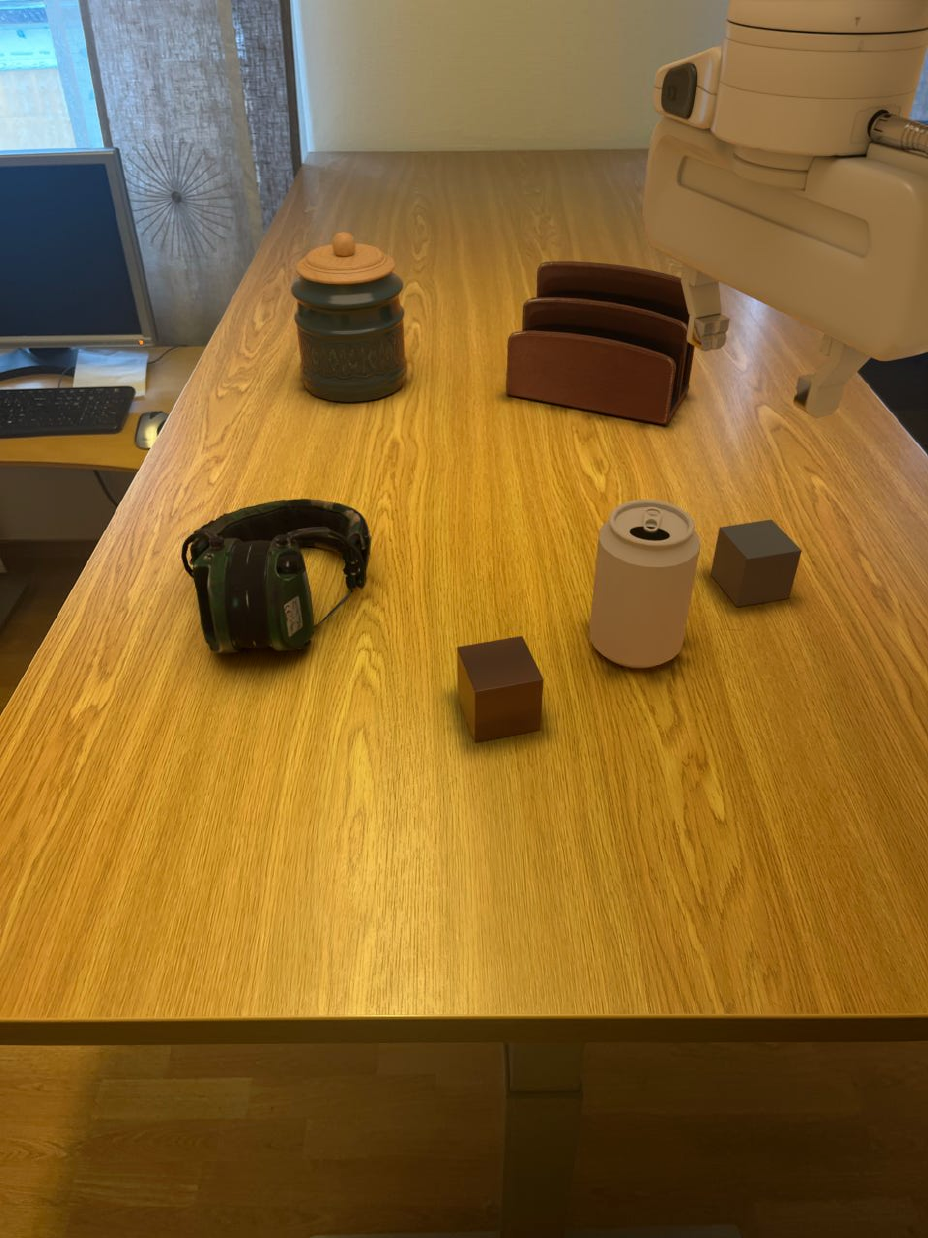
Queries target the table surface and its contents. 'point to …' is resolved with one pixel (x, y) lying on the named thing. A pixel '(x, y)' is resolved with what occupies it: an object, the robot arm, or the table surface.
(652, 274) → the letter holder
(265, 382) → the table surface
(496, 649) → the walnut block
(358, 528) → the headphones
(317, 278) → the canister
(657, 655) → the can
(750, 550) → the slate block
